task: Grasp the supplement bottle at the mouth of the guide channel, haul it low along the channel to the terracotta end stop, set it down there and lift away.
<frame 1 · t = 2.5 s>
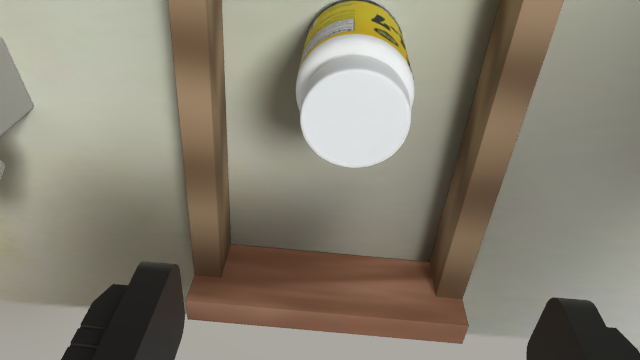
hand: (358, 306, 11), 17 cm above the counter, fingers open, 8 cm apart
supplement bottle: (353, 42, 25), on the counter
lighter: (18, 98, 28), on the counter
guide channel: (342, 148, 28), on the counter
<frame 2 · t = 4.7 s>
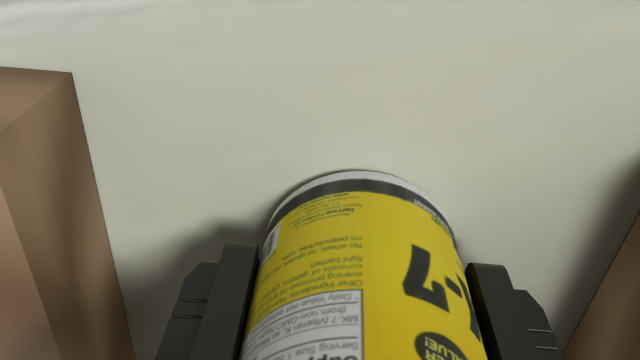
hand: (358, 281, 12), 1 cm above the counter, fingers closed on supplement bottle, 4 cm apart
supplement bottle: (357, 237, 13), on the counter, touching gripper
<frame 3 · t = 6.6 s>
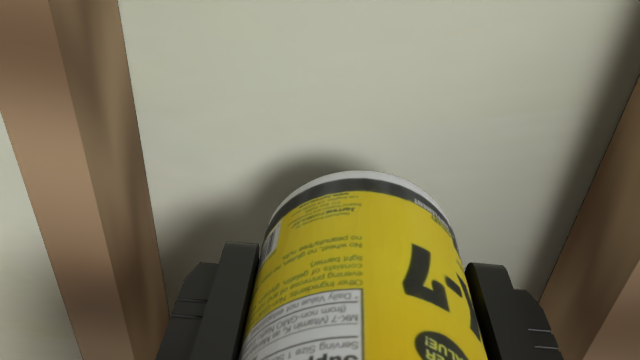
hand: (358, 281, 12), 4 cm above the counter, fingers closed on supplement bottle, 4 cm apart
supplement bottle: (357, 236, 13), point 2 cm above the counter, touching gripper
guide channel: (358, 225, 16), on the counter
when the fingers open (2 cm above the counter, at t = 8.6 s): supplement bottle stays where it is, on the counter.
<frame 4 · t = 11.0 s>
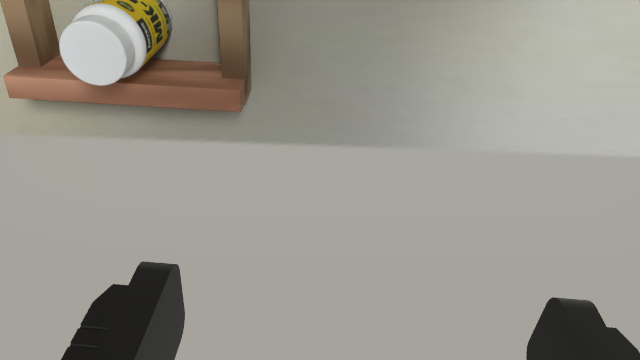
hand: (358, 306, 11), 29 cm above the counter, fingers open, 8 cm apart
supplement bottle: (141, 16, 37), on the counter
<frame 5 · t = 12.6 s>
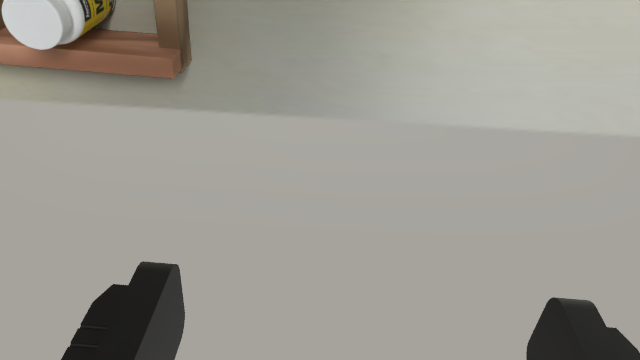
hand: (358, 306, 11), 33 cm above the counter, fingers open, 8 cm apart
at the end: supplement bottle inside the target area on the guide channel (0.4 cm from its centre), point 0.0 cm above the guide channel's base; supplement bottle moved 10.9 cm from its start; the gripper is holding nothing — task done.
